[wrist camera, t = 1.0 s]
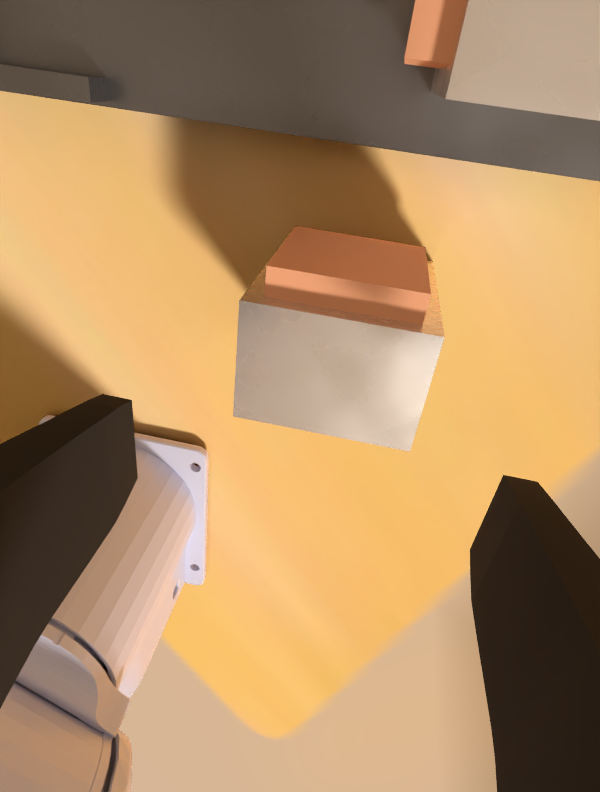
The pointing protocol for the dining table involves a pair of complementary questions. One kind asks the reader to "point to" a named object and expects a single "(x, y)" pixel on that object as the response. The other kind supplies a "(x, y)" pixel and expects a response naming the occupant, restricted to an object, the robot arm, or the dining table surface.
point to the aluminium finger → (340, 338)
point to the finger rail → (333, 70)
